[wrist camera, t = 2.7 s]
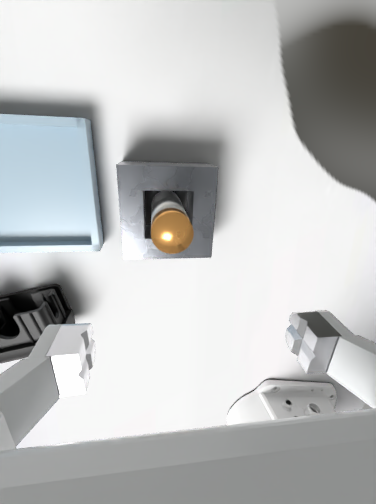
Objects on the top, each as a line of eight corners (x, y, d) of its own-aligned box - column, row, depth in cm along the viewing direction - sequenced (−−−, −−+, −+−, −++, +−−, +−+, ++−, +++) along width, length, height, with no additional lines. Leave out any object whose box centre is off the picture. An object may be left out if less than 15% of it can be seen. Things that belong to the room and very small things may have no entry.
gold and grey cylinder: (180, 190, 30) (194, 213, 20) (180, 218, 32) (192, 253, 22) (151, 190, 30) (150, 213, 20) (151, 219, 31) (151, 254, 21)
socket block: (208, 163, 30) (218, 167, 25) (203, 242, 34) (211, 257, 29) (122, 161, 28) (116, 164, 24) (127, 243, 32) (123, 259, 28)
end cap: (12, 338, 36) (-18, 378, 30) (-13, 297, 33) (-51, 333, 27) (81, 322, 36) (66, 359, 30) (62, 281, 33) (42, 313, 27)
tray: (90, 120, 26) (84, 118, 24) (103, 243, 32) (99, 251, 30) (-81, 111, 24) (-106, 108, 22) (-35, 245, 30) (-51, 253, 27)
